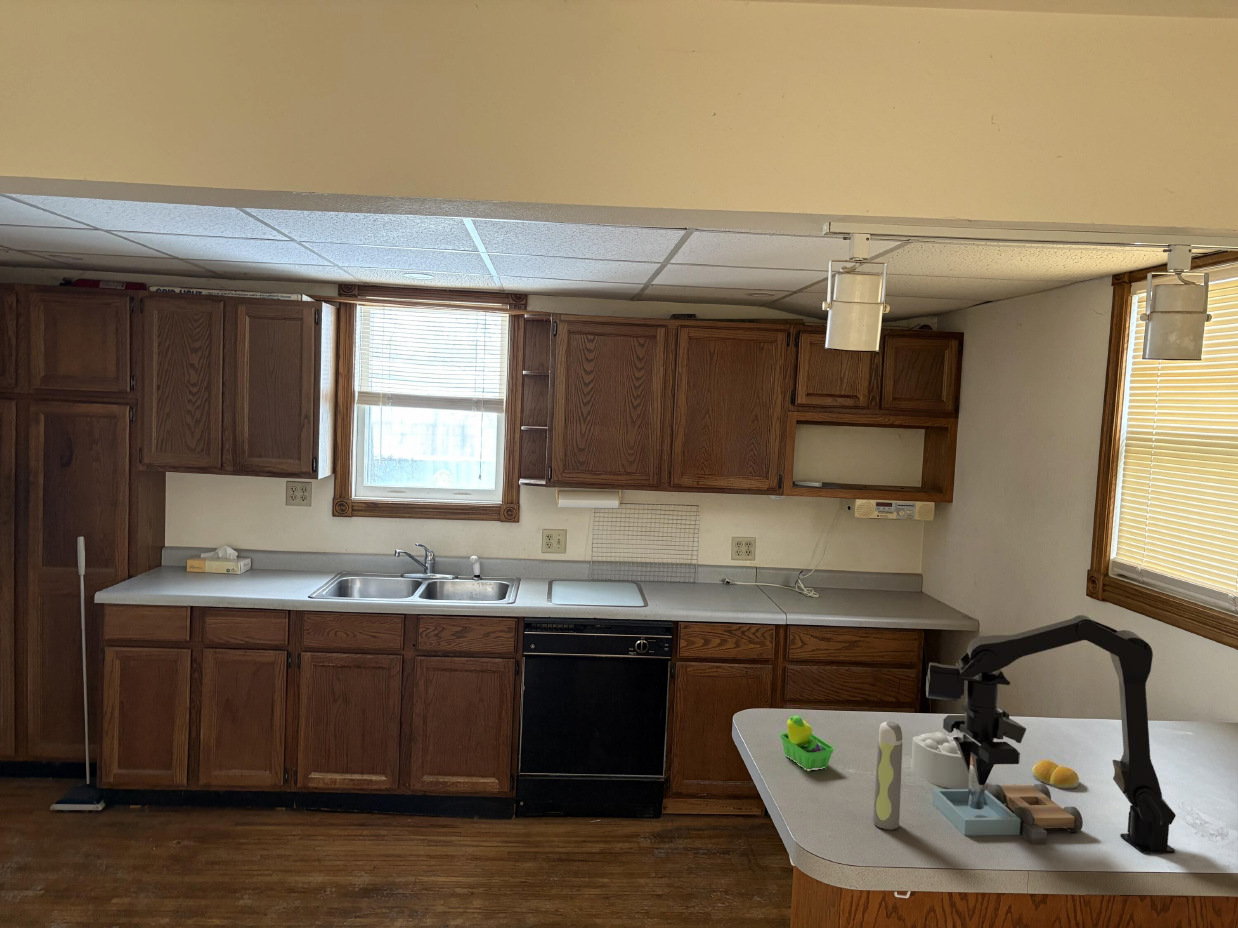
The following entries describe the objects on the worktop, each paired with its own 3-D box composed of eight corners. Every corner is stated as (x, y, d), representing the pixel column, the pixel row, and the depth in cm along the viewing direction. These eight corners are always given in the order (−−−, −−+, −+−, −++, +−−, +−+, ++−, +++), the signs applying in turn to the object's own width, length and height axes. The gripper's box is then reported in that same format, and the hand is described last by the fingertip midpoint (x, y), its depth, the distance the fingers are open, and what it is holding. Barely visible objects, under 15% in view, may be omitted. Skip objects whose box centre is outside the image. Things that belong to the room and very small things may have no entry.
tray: (1019, 834, 161) (1020, 819, 161) (964, 835, 160) (965, 819, 160) (983, 803, 174) (984, 788, 174) (932, 803, 173) (933, 789, 173)
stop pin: (986, 809, 165) (989, 759, 165) (972, 809, 165) (975, 759, 164) (978, 802, 168) (981, 752, 168) (964, 802, 168) (967, 753, 167)
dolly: (1091, 843, 158) (1093, 820, 158) (1031, 844, 157) (1033, 821, 157) (1037, 800, 176) (1039, 780, 175) (983, 801, 174) (984, 780, 174)
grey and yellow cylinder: (878, 816, 166) (883, 716, 165) (902, 824, 163) (908, 722, 162) (868, 824, 163) (873, 723, 161) (893, 833, 160) (898, 729, 158)
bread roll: (1070, 793, 180) (1071, 775, 180) (1027, 779, 187) (1028, 761, 187) (1085, 783, 186) (1086, 765, 186) (1043, 769, 192) (1044, 752, 192)
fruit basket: (835, 770, 187) (837, 720, 187) (801, 775, 184) (803, 725, 184) (805, 751, 198) (807, 703, 197) (772, 755, 195) (775, 707, 194)
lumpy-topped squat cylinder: (940, 762, 194) (943, 725, 194) (984, 786, 182) (986, 746, 182) (904, 768, 190) (906, 730, 190) (946, 792, 178) (949, 752, 178)
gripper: (1049, 720, 157) (1044, 802, 158) (995, 687, 175) (990, 761, 176) (992, 720, 156) (987, 803, 157) (943, 687, 174) (939, 761, 175)
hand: (977, 781), depth 166 cm, fingers closed on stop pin, 3 cm apart
